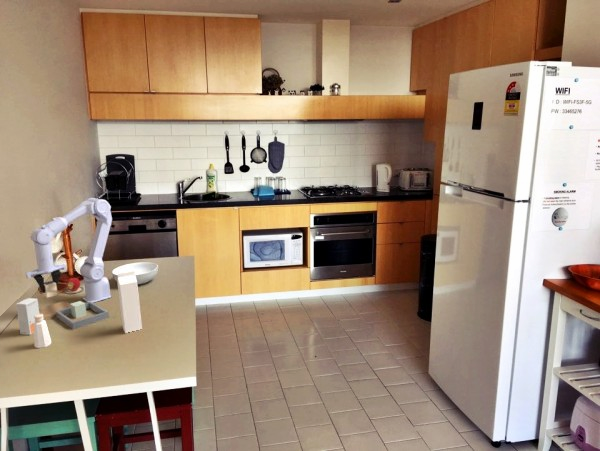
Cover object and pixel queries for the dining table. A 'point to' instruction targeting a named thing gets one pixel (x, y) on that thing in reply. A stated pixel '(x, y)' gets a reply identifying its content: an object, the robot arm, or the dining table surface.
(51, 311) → the walnut board
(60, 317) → the bin
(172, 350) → the dining table surface
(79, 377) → the dining table surface
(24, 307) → the skincare box
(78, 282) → the apple
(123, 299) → the milk
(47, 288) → the birch block
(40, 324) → the pepper shaker
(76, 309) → the sage block
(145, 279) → the serving bowl
